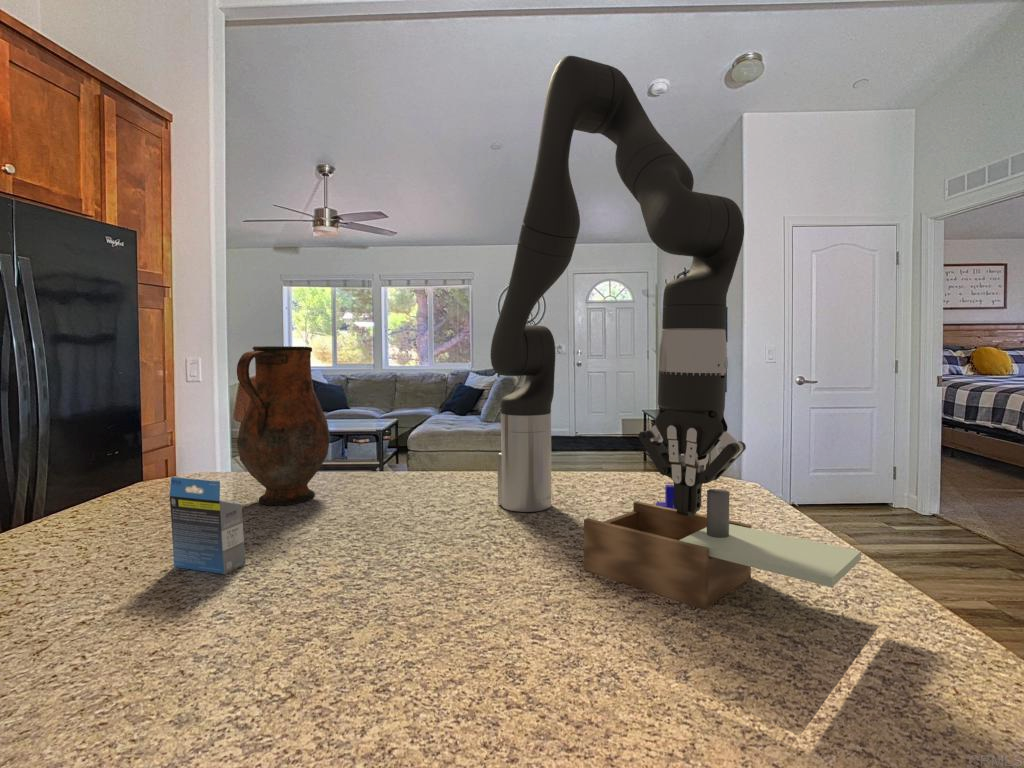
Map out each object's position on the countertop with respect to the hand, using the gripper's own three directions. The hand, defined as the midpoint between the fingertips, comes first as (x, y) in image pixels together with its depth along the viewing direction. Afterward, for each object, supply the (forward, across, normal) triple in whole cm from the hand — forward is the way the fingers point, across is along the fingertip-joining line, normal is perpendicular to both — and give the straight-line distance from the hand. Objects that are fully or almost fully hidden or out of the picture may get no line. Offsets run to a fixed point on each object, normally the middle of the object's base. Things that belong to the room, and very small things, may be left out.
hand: (686, 514), depth 67 cm
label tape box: (+10, -49, -38) cm, 62 cm away
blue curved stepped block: (+10, -12, +19) cm, 24 cm away
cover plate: (+2, +9, 0) cm, 10 cm away
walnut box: (+9, -3, 0) cm, 9 cm away
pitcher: (+11, -76, -17) cm, 78 cm away
